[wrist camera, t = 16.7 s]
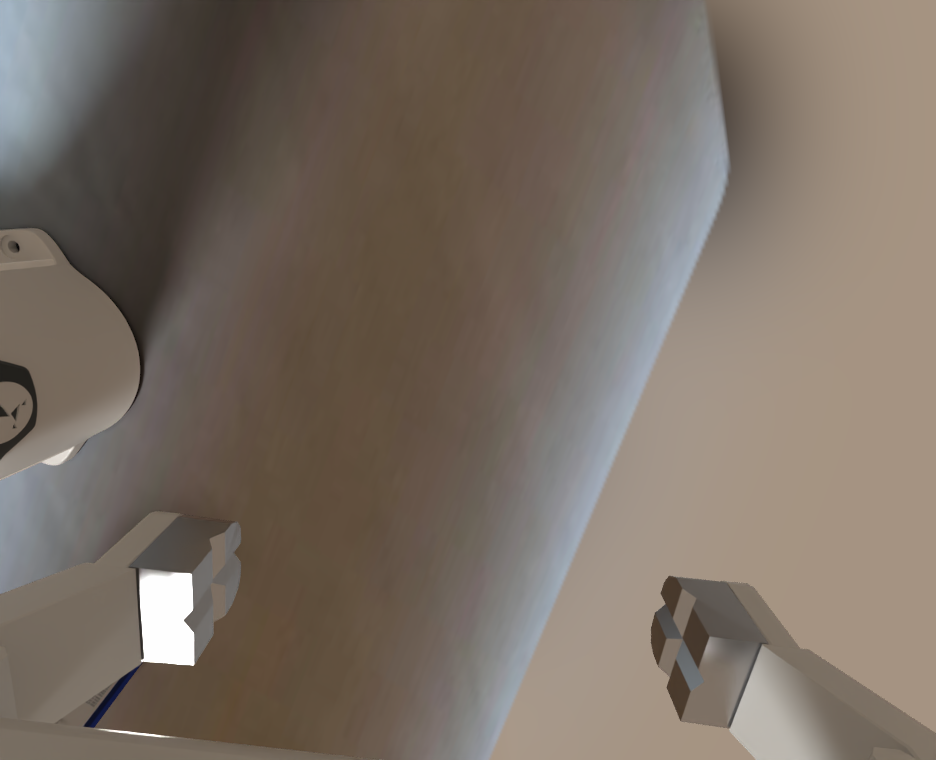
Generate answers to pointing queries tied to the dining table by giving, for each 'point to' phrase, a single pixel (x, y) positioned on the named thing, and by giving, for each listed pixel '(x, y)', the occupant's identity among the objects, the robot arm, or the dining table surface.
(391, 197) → the dining table surface
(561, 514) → the dining table surface
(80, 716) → the milk carton
